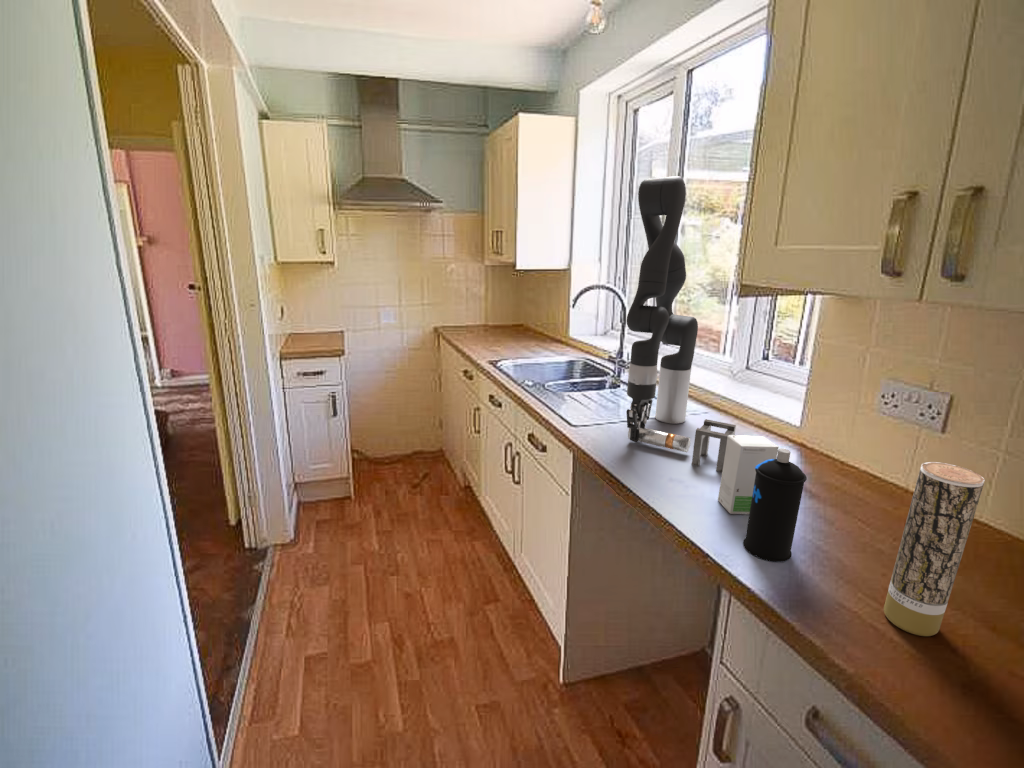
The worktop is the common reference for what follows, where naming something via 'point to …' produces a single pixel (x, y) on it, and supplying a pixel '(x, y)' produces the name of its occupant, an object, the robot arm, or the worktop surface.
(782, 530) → the aerosol can
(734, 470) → the skincare box
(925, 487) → the paper tube
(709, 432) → the frame
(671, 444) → the silver cosmetic tube
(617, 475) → the worktop surface
